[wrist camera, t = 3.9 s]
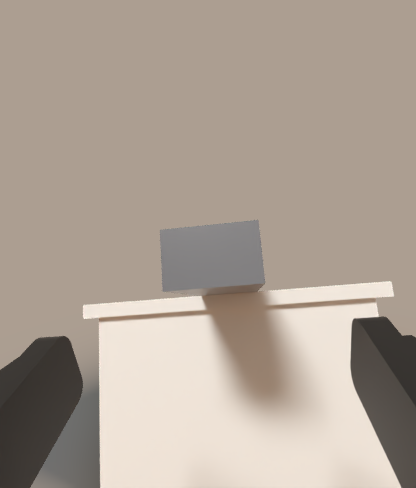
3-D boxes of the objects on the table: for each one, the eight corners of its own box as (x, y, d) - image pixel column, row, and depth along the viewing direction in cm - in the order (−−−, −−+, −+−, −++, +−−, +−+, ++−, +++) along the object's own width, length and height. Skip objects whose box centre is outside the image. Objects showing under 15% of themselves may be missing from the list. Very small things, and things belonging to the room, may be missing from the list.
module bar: (162, 291, 12) (156, 161, 13) (218, 297, 36) (214, 250, 37) (265, 283, 12) (251, 149, 13) (253, 295, 35) (248, 247, 36)
